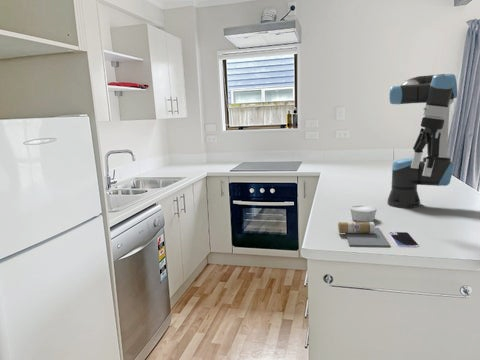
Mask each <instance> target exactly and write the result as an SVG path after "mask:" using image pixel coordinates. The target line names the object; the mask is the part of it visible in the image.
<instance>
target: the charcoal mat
mask: <svg viewBox="0 0 480 360" xmlns="http://www.w3.org/2000/svg"><path fill="white" fill-rule="evenodd" d="M344 235H345V238H346V240H347V243H348V246H349V247H365V248H366V247H368V248H370V247H371V248H372V247H373V248H376V247H377V248H391V247H392V246H391V244H390V242H389V241H388V239H387V237H385V235H384V233H383V232H382V230H381V229H380V227H375V233H374V234H368V233H344Z"/></svg>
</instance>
